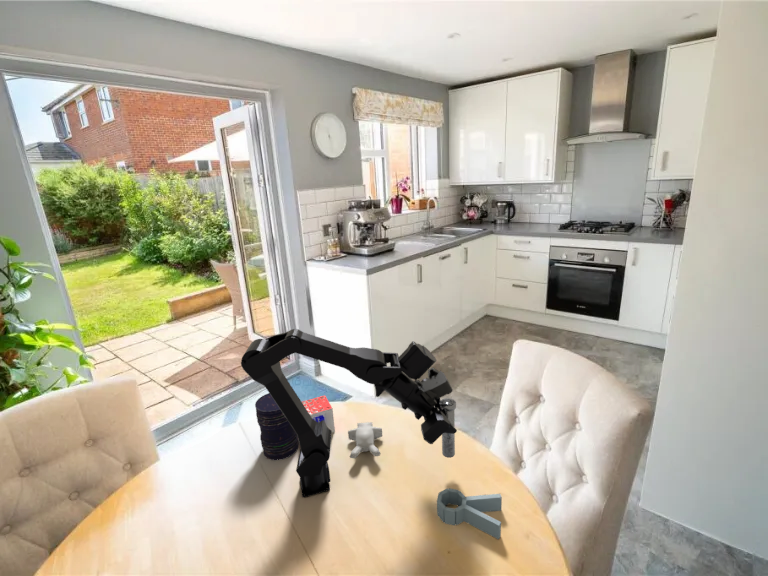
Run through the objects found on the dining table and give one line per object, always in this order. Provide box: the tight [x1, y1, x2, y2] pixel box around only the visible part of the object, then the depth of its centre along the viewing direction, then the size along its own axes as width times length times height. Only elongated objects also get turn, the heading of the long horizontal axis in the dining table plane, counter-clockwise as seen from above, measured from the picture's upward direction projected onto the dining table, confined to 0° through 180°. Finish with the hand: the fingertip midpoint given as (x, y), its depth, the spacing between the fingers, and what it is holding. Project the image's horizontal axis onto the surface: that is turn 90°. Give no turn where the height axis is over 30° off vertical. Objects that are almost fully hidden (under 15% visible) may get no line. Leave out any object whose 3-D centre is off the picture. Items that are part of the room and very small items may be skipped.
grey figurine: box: [347, 421, 383, 459], centre depth 105 cm, size 10×5×15 cm
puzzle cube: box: [301, 395, 336, 433], centre depth 113 cm, size 8×8×8 cm
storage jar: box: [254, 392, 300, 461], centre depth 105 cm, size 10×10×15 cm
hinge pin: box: [440, 398, 457, 459], centre depth 92 cm, size 4×4×14 cm
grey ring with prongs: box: [436, 487, 503, 541], centre depth 81 cm, size 13×8×4 cm, turn 72°
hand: (453, 427), depth 92 cm, fingers closed on hinge pin, 3 cm apart
